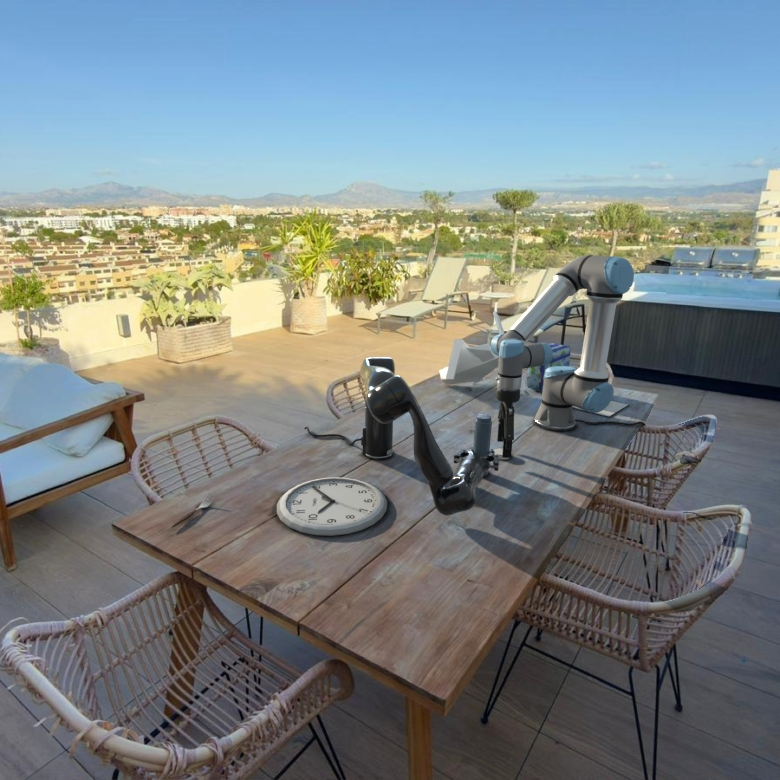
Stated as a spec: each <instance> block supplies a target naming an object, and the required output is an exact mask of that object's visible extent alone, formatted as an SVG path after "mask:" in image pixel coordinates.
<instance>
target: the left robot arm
mask: <svg viewBox="0 0 780 780" xmlns="http://www.w3.org/2000/svg"><path fill="white" fill-rule="evenodd" d="M395 364H396V363H395V361H394V359H393V358H392V357H389V356H388V357H382V356H381V357H380V356H379V357H372V356H371V357H366V358H364V359H363V360H362V361H361V365H360V370H359V371H360V379H361V382H362V384H363V385H364V389H365V392H366V393H365V397H364V398H365V399H364V427H362V436H361V437H360V438H356V439H354V440H353V441H352V442H351V441H350V440H349V439H348V438H347V437H346V436H345V435H342V434H338V433H330V434H327V433H326V434H315V433H312V432H311V430H310V428H309V427H308V426H305V427H303V429H304V430H306V431H307V433H308V434H309V435H310V436H311V437H316V438H325V437H327V438H328V437H339V438H342V439H343V440H344V441H346V443H347V444H349V445H354V444H355V443H357V442H359V441H360V446H362V456H365V457H367V458H369V459H371V460H386V459H389V458H391V457H392V456H393V449H394V448H393V444H394V443H393V442H394V441H393V439H394V438H393V437H394V436H393V435H394V421H396V420H397V419H399V418H400V417H402V416H404V415H405V414H407V413H409V415H410V418H411V420H412V426H413V457H414V461H415V464H416V466H417V467H418V469H419V470H420V472H421V474H422V475H423V477H424V479H425V480H426V482H427V485H428V486H429V490H430V493H431V496H432V500H433V504H434V506H435V507H434V508H435V509H436V511H437V512H438V513H439V514H441V515H443V516H452V515H456V514H458V513H462V512H466V511H468V510H471V509H472V508H473V507H474V506H475V504H476V501H477V499H476V489H477V488H478V486H479V485H480V483H481V482H482V481H483V479H484V477H485V476H484V474H485V472H486V470H488V471H489V469H493V471H495V472H498V471H499V469H500V468H499V466H500V461H499V460H500V459H499V458H498V455H495V451H494V448H490V452H489V454H484V455H483V456H477V455H473V446H470V447H469V448H468V449H467V450H466V449H465V448H464V449H460V450H459V451H457V452H455V454H454V455H453V464H458V463H459V464H458V466H457V467H456V469H455V471H454V470H453V467H452V466H451V464H450V463H449V461H448V459H447V458H446V456H445V455H444V453H443V451H442V449H441V448H440V446H439V445H438V443H437V440H436V438H435V436H434V434H433V431H432V429H431V427H430V425H429V422H428V420H427V418H426V416H425V414H424V412H423V410H422V407H421V406H420V404H419V402H418V400H417V397H416V396H415V394H414V392H413V390H412V388H411V387H410V385H409V384H408V382H407V381H406V380H405V379H404V378H403V377H402V376H401V375H398V374H396V365H395ZM448 483H449V485H448V486H446V487H445V485H447V484H448Z"/></svg>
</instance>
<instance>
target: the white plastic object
mask: <svg viewBox="0 0 780 780" xmlns="http://www.w3.org/2000/svg"><path fill="white" fill-rule="evenodd" d="M492 315H493V319H494V321H495V324H496V325H495V326H496V328H497V332H498V335H499V334H501V335H502V334H503V335H505V334H506V333H505V331H504V328H503V325H502V321H501V318H500V315H499V314H498V312H497V311H496V310H495V311H492ZM498 364H499V356H498V355H495V354H494V353H493V352H492V350H491V344H489V343H488V342H487V343H483V344H479V345H473V346H469V345H468V343H466V342H465V340H464V339H463V338H460V339H458V338H454V340H453V344H452V349H451V353H450V357H449V362H448V366H446V367H444V368H442V369H440V370H439V371H438V372H439V376H440V381H442V383H443V384H444V385H445V386H449V385H458V384H467V383H468V384H469V383H473V384H477V383H480V382H482V381H484V378H485V377H486V376H487V375H489V374H490V373H492V372H494V371H495V370H496V369H497V368H498ZM526 381H527V380H526V378H525V375H524V371H523V370H522V380H521V389H522V391H523V393H524V395H525V396H526V397H528V396H531V395H530V389H529V388H528V387H527V384H526Z"/></svg>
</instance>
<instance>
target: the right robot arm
mask: <svg viewBox="0 0 780 780" xmlns="http://www.w3.org/2000/svg"><path fill="white" fill-rule="evenodd" d="M634 278H635V273H634V268H633V265H632V263H631V262H630V261H629V260H628V259H626V258H624V257H620V256H615V255H612V256H610V255H609V256H608V255H595V254H586V255H585V254H584V255H581V256H579V257H577V258H574V259H573V260H571V261H569V263H567V264H565V265H564V266H563V267H562V268H561V269H560V270H558V272H556V274H555V275H554V276H553V277H552V278H551V283H550V284H549V285H548V287H547V288H545V290H544V291H543V292H542V293H541V294H540V295H539V296H538V297H537V298H536V300H535V301H534V302H532V304H531V305H530V306H529V307H528V308H527V310H526V311H524V313H523V314H522V315H521V316H520V317H519V318H518V320H516V321H515V323H514V324H513V325H512V326H511V327H510V328H509V329H508V330H507V332H505V333H504V334H505V335H503V334H502V335H501V334H499V333H498V334H496V335H495V336H494V337H492V339H491V342H490V347H491V350H492V352H493V353H494V354H495V355H498V356H499V364H498V367H497V368H498V369H497V377H495V381H497V383H496V385H497V388H496V391H495V393H496V395H495V398H496V400H497V401H498V402H499V408H498V414H497V420H498V421H497V422H498V426H497V437H496V438H497V439H496V441H497V442H499V443H502V444H503V445H502V449H503V453H502V458H509V459H512V450H513V441H514V440H515V412H516V411H515V406H514V403H517V402H519V401H520V399H521V389H522V386H521V380H522V371H523V369H527V368H530V367H537V366H542V365H546V364H548V363H550V362H551V360H552V356H553V351H552V348H551V346H550V345H549V344H550V343H547V342H539V341H538V342H536V343H535V342H531V341H530V339H531V338H532V337H534V335H535V334H536V333H537V332H538V331H539V329H541V327H542V326H544V324H545V323H546V322H547V321H548V320H549V318H550V317H551V316H552V315H553V314H554V313H555V312H556V311H557V310H558V309H559V308H560V306H561V305H562V304H563V303H564V302H565V301H566V300H567V299H568V298H569V297H572V296H574V295H575V294H576V293H577V292H578V291H580V290H586V294H585V296H586V297H587V299H588V300H589V305H588V311H587V318H586V325H585V329H584V330H585V332H584V336H583V344H582V350H581V355H580V356H581V357H580V363H579V367H578V368H577V367H574V366H570V365H569V366H555V367H549V368H547V369H546V370H545V374H544V379H543V390H542V392H541V402H540V405H539V407H538V410H537V411H536V413H535V416H534V424H535V425H536V426H537V427H539V428H542V429H544V430H549V431H556V432H567V431H572V430H574V429H575V428H576V422H577V423H582V424H586V425H605V424H608V425H610V424H611V425H619V426H629V427H632V426H633V427H634V426H637V425H642V426H643V427H644V426H645V427H646V423H645V422H644V421H636V422H621V421H615V420H614V421H613V420H603V421H601V420H599V421H587V420H584V419H578V418H575V417H576V416H575V413H574V407H578V408H581V409H583V410H582V411H584V412H588V411H589V412H588V413H592V412H593V414H596V413H597V412H600V411H602V410H604V409H605V408H606V407H607V406H608V405H609V403H610V402H611V401H613V397H614V393H615V392H614V386H613V385H612V384H611V383H610V382H609V378H610V376H609V374H608V373H607V371H606V368H607V363H608V356H609V351H610V345H611V340H612V339H611V338H612V333H613V326H614V321H615V315H616V308H617V304H618V303H619V302H620V301H621V300H623V297H624V294H626V293H628V292H629V291H630V289H631V287H632V286H633V283H634V280H635V279H634Z"/></svg>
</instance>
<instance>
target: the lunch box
mask: <svg viewBox="0 0 780 780" xmlns="http://www.w3.org/2000/svg"><path fill="white" fill-rule="evenodd" d="M548 344H549V345H550V346H551V348H552V351H553V356H552V360H551V362H550V363H548V364H546V365H542V366H537V367H530V368H526V380H525V381H526V384H527V387H528V390H530V389H531V390H534V391H535V390H536V391H539V392H541V393H542V390H543V379H544V374H545V370H546V369H547V368H549V367H555V366H569V367H570V361H571V347H570V345H565V344H558V343H548Z"/></svg>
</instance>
